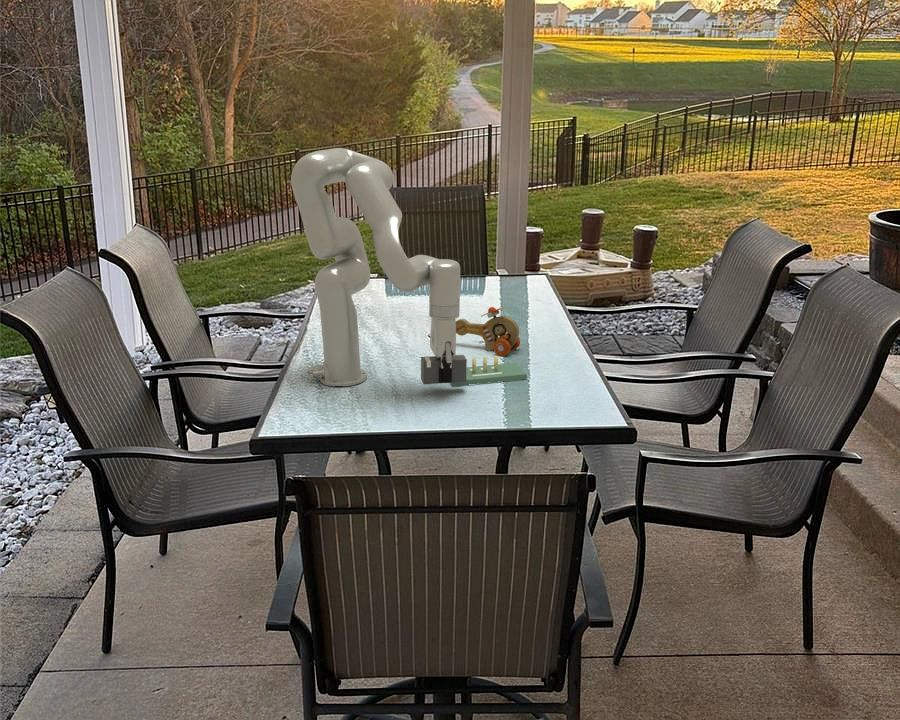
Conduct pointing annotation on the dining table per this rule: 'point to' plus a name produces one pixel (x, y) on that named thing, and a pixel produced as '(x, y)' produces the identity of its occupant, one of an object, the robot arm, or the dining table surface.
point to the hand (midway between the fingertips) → (443, 378)
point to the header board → (492, 372)
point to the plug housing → (433, 364)
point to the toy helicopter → (493, 332)
